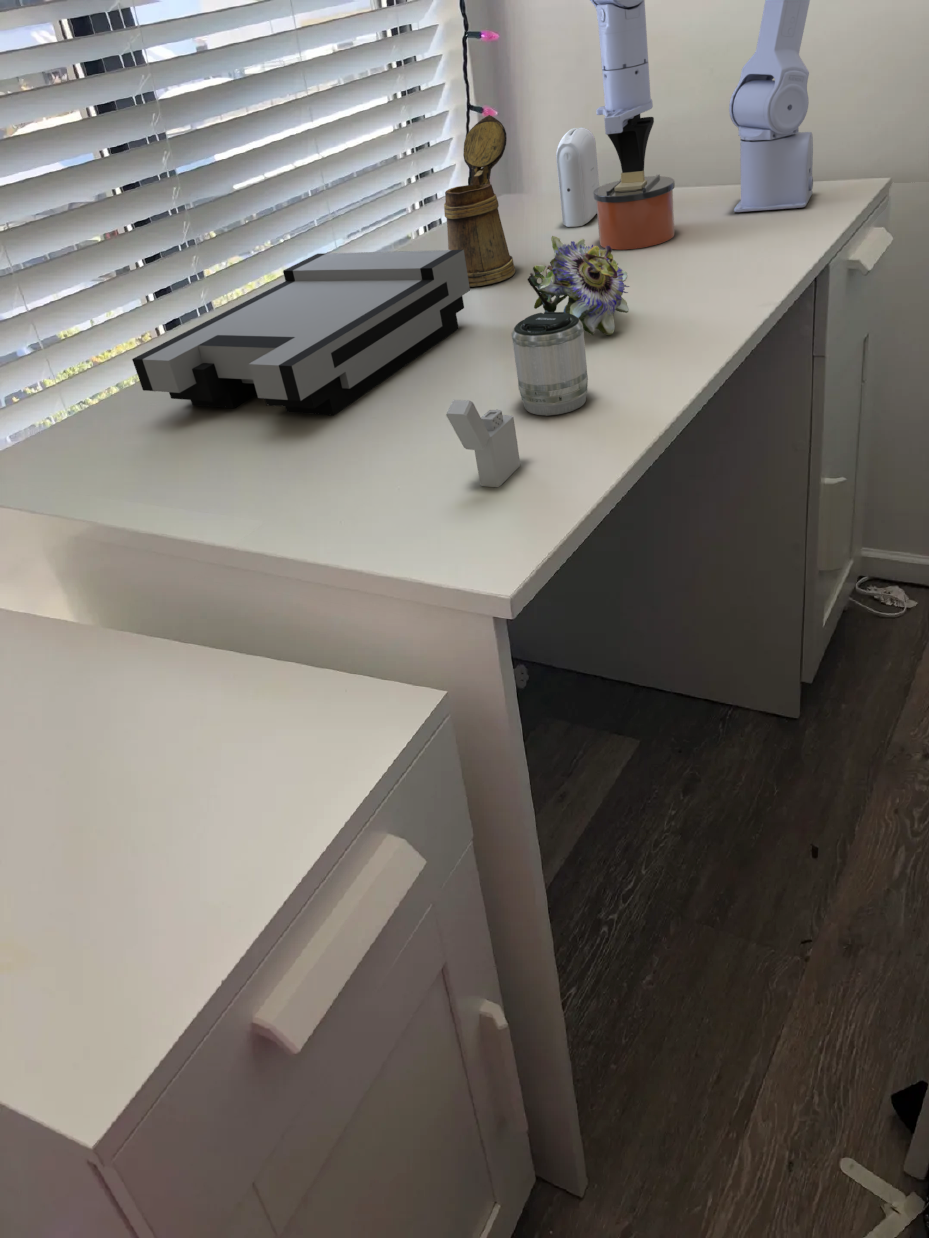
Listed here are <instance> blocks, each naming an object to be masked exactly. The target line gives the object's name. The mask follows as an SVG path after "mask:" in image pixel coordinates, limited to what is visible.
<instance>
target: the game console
mask: <svg viewBox="0 0 929 1238" xmlns="http://www.w3.org/2000/svg"><path fill="white" fill-rule="evenodd" d="M282 273H283V277H284V281H283V282H280V283H279V284H277V285H275V286H273V287H271V288H269V289H267V290H265V291H264V292H261V293H259V294H258V295H256V296H254V297H251V298H249V299H248V300H246V301H244V302H242V303H239V304H238V305H235V306H234V307H232V308H230V309H228V310H226V311H224V312H222V313H220V314H218V315H216V316H214V317H212V318H209V319H208V320H206V321H204V322H202V323H200V324H197V325H196V326H194V327H192V328H190V329H188V330H186V331H185V332H184V331H183V332H182V333H181V334H178V335H176V336H174V337H173V338H171V339H168V340H166V341H165V342H163V343H161V344H159V345H157V346H155V347H153V348H151V349H149V350H147V351H145V352H143V353H141V354H139V355H137V356H135V357H133V358H132V359H131V361H132V363H133V366H134V368H135V371H136V375H137V378H138V380H139V384H140V386H141V388H142V391H145V392H161V393H169V396H170V399H171V400H185V401H187V400H188V401H190V403H191V406H198V407H210V408H223V409H224V408H225V409H235V408H237V407H239V406H240V405H241V404H244V403H245V402H247V401H248V400H250V399H251V398H254V397H255V396H257V399H264V401H265V404H266V406H272V407H284V408H285V413H290V414H291V413H293V414H303V415H317V416H319V415H320V416H330V417H331V416H333V417H334V416H335V415H337V414H338V413H340V412H341V411H343V410H344V409H345V408H348V407H349V406H350V405H351V404H353V403H354V402H355V401H357V400H359V399H360V398H361V397H363V396H364V395H365V394H367V393H368V392H370V391H372V390H373V389H374V388H376V387H377V386H379V385H381V383H383V382H384V381H386V380H387V379H389V378H390V377H392V376H393V375H394V374H396V373H397V372H399V371H400V370H402V369H403V368H405V367H406V366H408V365H409V364H410V363H412V362H413V361H415V360H416V359H418V358H419V357H421V356H422V355H423V354H425V353H426V352H428V351H429V350H430V349H432V348H434V347H435V346H436V345H438V344H439V343H440V342H442V341H443V340H445V339H446V338H448V337H450V336H451V335H452V334H454V333H455V332H456V331H459V323H458V318H457V317H458V316H457V313H459V312H461V311H462V310H464V309H465V304H464V297H463V296H464V295H465V294H467V293H468V292H470V291H471V287H469V281H468V274H467V268H466V261H465V255H464V250H448V249H441V250H440V249H435V250H403V251H401V250H400V251H397V250H396V251H367V252H365V251H364V252H331V253H330V252H328V253H327V252H325V253H324V252H323V253H322V252H321V253H316V254H313V255H312V256H310V257H308V258H306V259H304V260H302V261H299V262H298V263H295V264H294V265H292V266H289V267H287V268H285V269H283V270H282Z"/></svg>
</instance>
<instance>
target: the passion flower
mask: <svg viewBox="0 0 929 1238" xmlns="http://www.w3.org/2000/svg"><path fill="white" fill-rule="evenodd" d="M550 239H551V244H552V245H551V246H552V249H553V253H554V254H553V256H554V258H552V259H551V260H550V261H549V265H548V266H546V265H538V264H536V265H533V267H532V271H533V273H532V272H530V273H529V275H528V278H527V279H526V280H527V282H528V283H529V285H530V287H531V288H532V289H533V290H534V291H535V293H536V294H537V296H538V297H537V299H535V302H534V305H533V308H534V309H535V310H537V309H539V308H540V307H541V306H542V308H543V310H544V312H557V307H558V305H559V304H560V303H561V302H562V301H563V300H565V299H566V298H567V297H568V298H567V299H568V300H567V303H566V305H565V306H564V307H563V311H562V312H565V313H568V314H572V315H574V316H576V317H578V318H579V319H580V321H581V322H582V324H583V331H585V332H586V333H588V334H589V335H591V336H594V334H595V333H596V330H597V331H599V332H600V333H602V334H604V335H606V336H612V335H613V334H614V331H615V327H616V325H615V317H614V314H615V312H619V313H623V314H627V313H629V311H630V307H629V305H628V301H626V299H625V298H624V297H622V296H623V294H629V291H625V289H626V288H630V286H629V285H627V284H625V283H624V282H626V280H627V279H628V271H626V270H623V269H622V268H621V267H619V263H617V261H616V260H615V259H614V254H612V252H613V249H611V247H610V246H605V248H604V249H600V247H599V246H598V245H594V244H591V247H590V246H589V245H588V246H587V245H586V242H585V241H586V240H585V239H584V238H580V239H579V240H578V241H577V242H575V241H574V240H573V241H570V244H569V243H568V244H566V243H563V242H562V241H561V238H560V237H558V236H555V235H552V236H551V238H550ZM548 270H549V271H548ZM543 272H544V273H545V276H544V274H543ZM538 279H540V280H541V282H538ZM553 298H554V299H553ZM552 299H553V300H552Z"/></svg>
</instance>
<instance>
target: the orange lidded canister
mask: <svg viewBox="0 0 929 1238" xmlns="http://www.w3.org/2000/svg"><path fill="white" fill-rule="evenodd" d="M644 177H645V180H647V184H646V185H645V186H644V187H643V188H642V189H639V190H626V191H615V187H616V186H617V185H618V184H619V183H620V182H621V178H620V179H619V180H615V181H613V182H609V183H605V184H603V185H599V187H598V188H597V189H595V190H594V192H593V196H594V199H595V200H596V204H597V213H596V214H597V215H596V216H597V226H598V239H599V240H598V241H599V246H600V247H601V248H604V249H605V246H610V247H611V249H612V250H616V251H617V250H619V251H623V250H625V251H626V250H637V249H643V248H649V247H653V246H657V245H660V244H663V243H666V242H667V241H670V240H672V239H673V238H674V236H675V212H674V191H673V190H674V189H675V187H676V184H675V183H676V181H675V179H674V178H672V177H670V176H661V174H656V175H651V176H649V175H648V176H644Z"/></svg>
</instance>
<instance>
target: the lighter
mask: <svg viewBox="0 0 929 1238" xmlns="http://www.w3.org/2000/svg"><path fill="white" fill-rule="evenodd" d="M445 416H446V418H447V420H448V421H449V423H450V425H451V427H452V428H453V430H454V433H455V434H456V436H457V437H458V438H457V439H459V441H460V443H461V445H462V447H463V449H465V450H471V451H474V455H475V462H476V466H477V472H478V480H479V485H480V486H481V487H488V488H499V487H501V486H502V485H503V484H504V483H505V482H506V481H507V480H508V479H509V478H510V477H511V476H512V475H513V474H514V473H515V472H516V471H517V470H518V469H519V468H520V467H521V459H520V452H519V445H518V439H517V431H516V424H515V418H514V415H512V414H503V410H501V409H498V408H496V409H489V410H487V411H486V412H485V413H484V414H483V415H482V416H481V415H480V414H479V412H478V410H477V408H476V406H475V404H474V402H473V401H471V400H469V399H453V400H452V401H451V403H450V405H449V408H448V410H447V411H446V414H445Z"/></svg>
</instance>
